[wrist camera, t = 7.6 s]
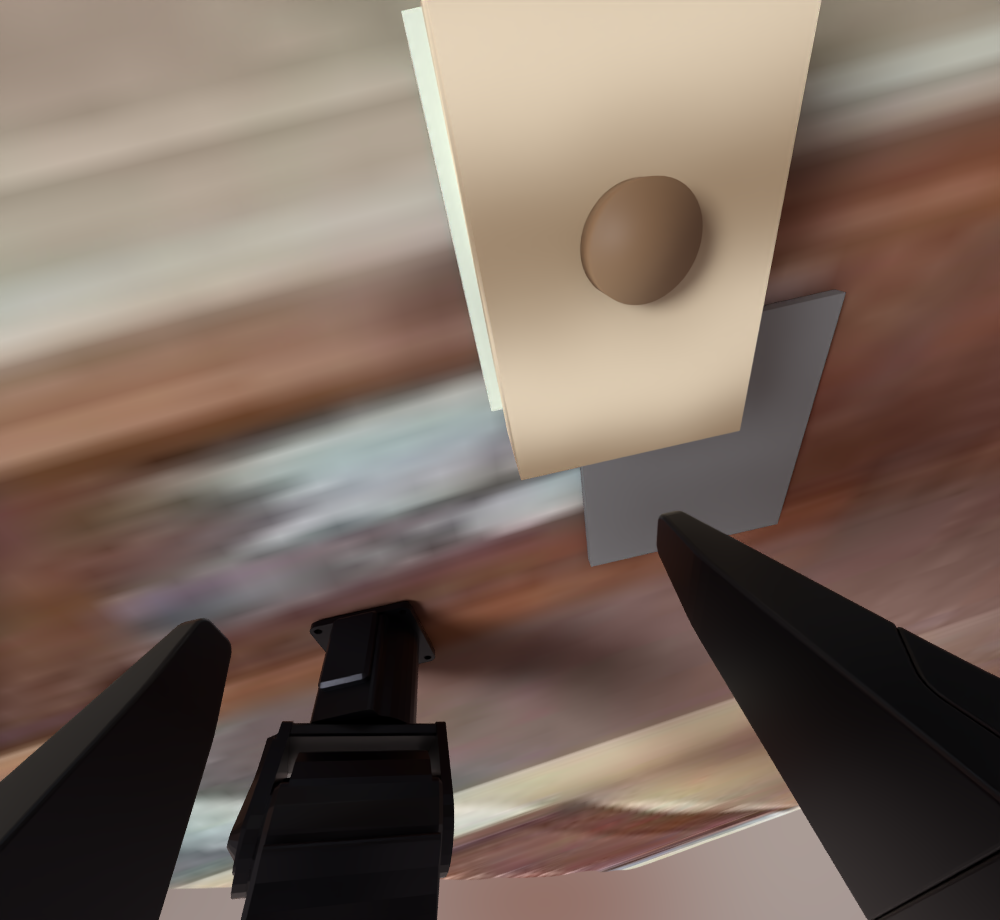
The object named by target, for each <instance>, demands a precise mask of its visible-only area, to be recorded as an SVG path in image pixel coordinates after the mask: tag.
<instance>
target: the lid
mask: <svg viewBox="0 0 1000 920" xmlns="http://www.w3.org/2000/svg"><path fill="white" fill-rule="evenodd" d="M420 2H421V7H422V12H423V17H424V22H425V27H426V32H427V37H428V42H429V47H430V52H431V56H432V61H433V66H434V71H435V76H436V81H437V86H438V91H439V96H440V101H441V106H442V111H443V116H444V121H445V126H446V130H447V135H448V140H449V145H450V150H451V155H452V160H453V165H454V170H455V175H456V180H457V185H458V190H459V195H460V200H461V205H462V209H463V214H464V219H465V224H466V229H467V234H468V239H469V244H470V249H471V254H472V259H473V264H474V269H475V274H476V279H477V283H478V288H479V293H480V298H481V303H482V308H483V313H484V318H485V323H486V328H487V333H488V338H489V343H490V348H491V353H492V358H493V362H494V367H495V372H496V377H497V382H498V387H499V392H500V397H501V402H502V407H503V412H504V417H505V422H506V427H507V432H508V435H509V439H510V442H511V446H512V449H513V453H514V456H515V460H516V463H517V467H518V470H519V474H520V477H521V480H525V479H529V478H533V477H538V476H542V475H547V474H551V473H555V472H560V471H564V470H569V469H573V468H577V467H582V466H586V465H591V464H595V463H599V462H604V461H608V460H613V459H617V458H621V457H626V456H630V455H635V454H639V453H644V452H648V451H652V450H657V449H661V448H666V447H670V446H674V445H679V444H683V443H688V442H692V441H696V440H701V439H705V438H710V437H714V436H718V435H723V434H727V433H732V432H736V431H740V427H741V422H742V416H743V411H744V406H745V401H746V395H747V390H748V385H749V379H750V374H751V369H752V364H753V358H754V353H755V348H756V342H757V337H758V332H759V327H760V321H761V316H762V311H763V306H764V300H765V295H766V290H767V284H768V279H769V274H770V269H771V263H772V258H773V253H774V247H775V242H776V237H777V232H778V226H779V221H780V216H781V210H782V205H783V200H784V195H785V189H786V184H787V179H788V174H789V168H790V163H791V158H792V152H793V147H794V142H795V137H796V131H797V126H798V121H799V115H800V110H801V105H802V100H803V94H804V89H805V84H806V78H807V73H808V68H809V63H810V57H811V52H812V47H813V42H814V36H815V31H816V26H817V20H818V15H819V10H820V5H821V0H420Z"/></svg>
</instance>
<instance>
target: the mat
mask: <svg viewBox="0 0 1000 920" xmlns="http://www.w3.org/2000/svg"><path fill="white" fill-rule="evenodd" d="M845 294H846V292H843V291H839V290H830V291H826V292H821V293H817V294H813V295H808V296H804V297H800V298H795V299H791V300H787V301H782V302H778V303H774V304H769V305H765V306H763V311H762V316H761V321H760V327H759V332H758V337H757V342H756V348H755V353H754V358H753V364H752V369H751V374H750V379H749V385H748V390H747V395H746V401H745V406H744V411H743V416H742V422H741V427H740V431H736V432H732V433H727V434H723V435H718V436H714V437H710V438H705V439H701V440H696V441H692V442H688V443H683V444H679V445H674V446H670V447H666V448H661V449H657V450H652V451H648V452H644V453H639V454H635V455H630V456H626V457H621V458H617V459H613V460H608V461H604V462H599V463H595V464H591V465H586V466H582V467H580V470H581V482H582V493H583V504H584V515H585V527H586V538H587V549H588V560H589V562H590V565H591V567H592V566H596V565H600V564H605V563H609V562H613V561H618V560H622V559H626V558H631V557H635V556H640V555H644V554H648V553H653V552H657V551H658V550H657V545H656V541H657V525H658V518H659V516H660V515H661V514H664V513H668V512H673V511H683V512H685V513H687V514H689V515H691V516H692V517H694V518H696V519H698V520H700V521H702V522H704V523H706V524H708V525H709V526H711V527H713V528H715V529H717V530H719V531H721V532H723V533H724V534H726V535H731V534H736V533H740V532H744V531H749V530H753V529H757V528H762V527H766V526H771V525H775V524H777V523H778V520H779V517H780V513H781V510H782V506H783V503H784V500H785V496H786V493H787V490H788V486H789V483H790V479H791V476H792V473H793V469H794V466H795V463H796V459H797V456H798V452H799V449H800V446H801V442H802V439H803V436H804V432H805V429H806V425H807V422H808V419H809V415H810V412H811V409H812V405H813V402H814V398H815V395H816V392H817V388H818V385H819V381H820V378H821V375H822V371H823V368H824V365H825V361H826V358H827V354H828V351H829V348H830V344H831V341H832V338H833V334H834V331H835V327H836V324H837V321H838V317H839V314H840V311H841V307H842V304H843V300H844V297H845Z"/></svg>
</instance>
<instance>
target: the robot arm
mask: <svg viewBox="0 0 1000 920" xmlns="http://www.w3.org/2000/svg"><path fill="white" fill-rule="evenodd" d="M656 545H657V550H658V554H659V556H660V558H661V560H662V563H663V565H664V567H665V569H666V571H667V573H668V576H669V578H670V580H671V582H672V584H673V586H674V589H675V591H676V593H677V595H678V597H679V599H680V602H681V604H682V606H683V608H684V610H685V612H686V615H687V617H688V619H689V621H690V623H691V625H692V627H693V628H694V630H695V632H696V634H697V635H698V637H699V639H700V641H701V642H702V644H703V646H704V647H705V649H706V651H707V652H708V654H709V656H710V657H711V659H712V661H713V662H714V664H715V666H716V667H717V669H718V671H719V672H720V674H721V676H722V677H723V679H724V681H725V682H726V684H727V686H728V687H729V689H730V691H731V692H732V694H733V696H734V697H735V699H736V701H737V702H738V704H739V706H740V707H741V709H742V711H743V712H744V714H745V716H746V718H747V719H748V721H749V723H750V724H751V726H752V728H753V729H754V731H755V733H756V734H757V736H758V738H759V739H760V741H761V743H762V744H763V746H764V748H765V749H766V751H767V753H768V754H769V756H770V758H771V759H772V761H773V763H774V764H775V766H776V768H777V769H778V771H779V773H780V774H781V776H782V778H783V779H784V781H785V783H786V784H787V786H788V788H789V789H790V791H791V793H792V794H793V796H794V798H795V799H796V801H797V803H798V804H799V806H800V808H801V809H802V811H803V813H804V815H805V816H806V818H807V820H808V821H809V823H810V825H811V826H812V828H813V830H814V831H815V833H816V835H817V836H818V838H819V839H820V841H821V843H822V845H823V846H824V848H825V850H826V851H827V853H828V854H829V856H830V858H831V860H832V861H833V863H834V864H835V866H836V868H837V870H838V871H839V873H840V874H841V876H842V878H843V880H844V881H845V883H846V885H847V886H848V888H849V890H850V891H851V893H852V895H853V896H854V898H855V900H856V901H857V903H858V905H859V906H860V908H861V910H862V911H863V913H864V915H865V916H866V918H867V919H868V920H1000V678H999V677H997V676H995V675H993V674H991V673H989V672H986V671H984V670H983V669H981V668H979V667H977V666H975V665H973V664H971V663H969V662H967V661H965V660H963V659H961V658H959V657H957V656H955V655H953V654H951V653H949V652H947V651H945V650H944V649H942V648H940V647H938V646H936V645H934V644H932V643H930V642H928V641H926V640H924V639H922V638H921V637H919V636H917V635H915V634H913V633H911V632H909V631H907V630H906V629H904V628H901V627H897V628H896V626H895V624H894V623H892V622H890V621H888V620H886V619H884V618H883V617H881V616H879V615H877V614H875V613H873V612H871V611H869V610H868V609H866V608H864V607H862V606H860V605H858V604H856V603H854V602H852V601H851V600H849V599H847V598H845V597H843V596H841V595H839V594H837V593H836V592H834V591H832V590H830V589H828V588H826V587H824V586H822V585H820V584H819V583H817V582H815V581H813V580H811V579H809V578H807V577H805V576H804V575H802V574H800V573H798V572H796V571H794V570H792V569H790V568H788V567H787V566H785V565H783V564H781V563H779V562H777V561H775V560H773V559H772V558H770V557H768V556H766V555H764V554H762V553H760V552H758V551H756V550H755V549H753V548H751V547H749V546H747V545H745V544H743V543H741V542H740V541H738V540H736V539H734V538H732V537H730V536H728V535H726V534H724V533H723V532H721V531H719V530H717V529H715V528H713V527H711V526H709V525H708V524H706V523H704V522H702V521H700V520H698V519H696V518H694V517H692V516H691V515H689V514H687V513H685V512H683V511H673V512H668V513H664V514H661V515H660V516H659V518H658V525H657V541H656ZM310 633H311V635H312V636H313V637H314V638H315V640H316V641H317V642H318V643H319V644H320V646H321V647H322V648H323V649H324V651H325V652H326V654H325V658H324V662H323V666H322V671H321V675H320V679H319V683H318V687H319V688H318V692H317V696H316V700H315V705H314V709H313V713H312V717H311V721H310V723H293V721H282V724H281V726H280V729H279V732H278V734H276V735H274V736H272V737H269V738H267V741H266V744H265V748H264V751H263V754H262V757H261V760H260V763H259V767H258V770H257V772H256V775H255V778H254V780H253V783H252V785H251V787H250V790H249V792H248V794H247V796H246V799H245V801H244V803H243V806H242V808H241V810H240V812H239V815H238V817H237V819H236V822H235V824H234V826H233V828H232V831H231V833H230V836H229V840H228V844H227V849H228V851H229V853H230V855H231V856H232V858H233V860H234V865H233V872H232V874H233V875H234V879H233V884H232V891H231V899H239V898H246V900H245V905H244V909H243V913H242V917H241V920H437V910H438V895H439V879H440V878H444V877H446V875H447V873H448V871H449V867H450V862H451V856H452V848H453V836H454V799H453V788H452V779H451V769H450V760H449V750H448V741H447V731H446V723H445V722H436V723H435V724H416V711H417V688H418V664H420V663H424V662H428V661H432V660H433V659H434V658H435V650H434V648H433V646H432V645H431V643H430V641H429V639H428V637H427V635H426V633H425V631H424V629H423V627H422V625H421V624H420V622H419V620H418V618H417V616H416V614H415V612H414V610H413V608H412V606H411V605H410V604H409V603H407V602H400V603H395V604H391V605H387V606H382V607H378V608H374V609H369V610H365V611H360V612H356V613H352V614H347V615H343V616H339V617H334V618H330V619H325V620H321V621H317V622H314V623H313V624H312V625H311V629H310ZM230 658H231V644H230V642H229V640H228V639H227V638H226V637H225V636H224V635H223V634H222V632H221V631H220V630H219V629H218V628H217V627H216V626H215V625H214V624H213V623H212V622H211V621H210V620H208V619H205V618H201V619H196V620H192V621H187V622H184V623H181V624H180V625H178V626H177V627H176V628H175V629H174V630H172V631H171V632H170V633H169V634H168V635H167V636H166V637H164V638H163V639H162V640H161V641H160V642H159V643H158V644H156V645H155V646H154V647H153V648H152V649H151V650H150V651H149V652H147V653H146V654H145V655H144V656H143V657H142V658H141V659H139V660H138V661H137V662H136V663H135V664H134V665H133V666H131V667H130V668H129V669H128V670H127V671H126V672H125V673H124V674H122V675H121V676H120V677H119V678H118V679H117V680H116V681H114V682H113V683H112V684H111V685H110V686H109V687H108V688H106V689H105V690H104V691H103V692H102V693H101V694H100V695H99V696H97V697H96V698H95V699H94V700H93V701H92V702H91V703H89V704H88V705H87V706H86V707H85V708H84V709H83V710H82V711H80V712H79V713H78V714H77V715H76V716H75V717H74V718H72V719H71V720H70V721H69V722H68V723H67V724H66V725H64V726H63V727H62V728H61V729H60V730H59V731H58V732H57V733H55V734H54V735H53V736H52V737H51V738H50V739H49V740H47V741H46V742H45V743H44V744H43V745H42V746H41V747H39V748H38V749H37V750H36V751H35V752H34V753H33V754H32V755H30V756H29V757H28V758H27V759H26V760H25V761H24V762H22V763H21V764H20V765H19V766H18V767H17V768H16V769H15V770H13V771H12V772H11V773H10V774H9V775H8V776H7V777H5V778H4V779H3V780H2V781H1V782H0V920H159V917H160V914H161V910H162V907H163V904H164V900H165V897H166V894H167V891H168V887H169V884H170V881H171V877H172V874H173V871H174V868H175V864H176V861H177V858H178V854H179V851H180V848H181V844H182V841H183V838H184V835H185V831H186V828H187V825H188V821H189V818H190V815H191V812H192V808H193V805H194V802H195V798H196V795H197V792H198V789H199V785H200V782H201V779H202V775H203V772H204V769H205V765H206V762H207V759H208V756H209V752H210V749H211V745H212V742H213V738H214V734H215V730H216V726H217V721H218V716H219V711H220V707H221V702H222V697H223V692H224V687H225V682H226V677H227V672H228V667H229V663H230ZM288 773H292V774H291V777H290V778H287V775H288Z"/></svg>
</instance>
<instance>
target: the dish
mask: <svg viewBox="0 0 1000 920" xmlns="http://www.w3.org/2000/svg"><path fill="white" fill-rule="evenodd" d="M401 12H402V17H403V21H404V26H405V31H406V36H407V41H408V46H409V50H410V55H411V60H412V65H413V69H414V73H415V78H416V82H417V87H418V91H419V95H420V100H421V104H422V109H423V113H424V118H425V122H426V126H427V131H428V135H429V140H430V144H431V149H432V153H433V157H434V162H435V166H436V171H437V175H438V179H439V184H440V188H441V193H442V197H443V202H444V206H445V210H446V215H447V219H448V224H449V228H450V232H451V237H452V241H453V246H454V250H455V255H456V259H457V263H458V268H459V272H460V277H461V281H462V286H463V290H464V294H465V299H466V303H467V308H468V312H469V316H470V321H471V325H472V330H473V334H474V339H475V343H476V347H477V352H478V356H479V361H480V365H481V369H482V374H483V378H484V382H485V386H486V390H487V395H488V399H489V403H490V407H491V411H496V410H500V409H503V407H502V402H501V397H500V392H499V387H498V382H497V377H496V372H495V367H494V362H493V358H492V353H491V348H490V343H489V338H488V333H487V328H486V323H485V318H484V313H483V308H482V303H481V298H480V293H479V288H478V283H477V279H476V274H475V269H474V264H473V259H472V254H471V249H470V244H469V239H468V234H467V229H466V224H465V219H464V214H463V209H462V205H461V200H460V195H459V190H458V185H457V180H456V175H455V170H454V165H453V160H452V155H451V150H450V145H449V140H448V135H447V130H446V126H445V121H444V116H443V111H442V106H441V101H440V96H439V91H438V86H437V81H436V76H435V71H434V66H433V61H432V56H431V52H430V47H429V42H428V37H427V32H426V27H425V22H424V17H423V12H422V7H417V8H413V9H408V10H404V11H401Z"/></svg>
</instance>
